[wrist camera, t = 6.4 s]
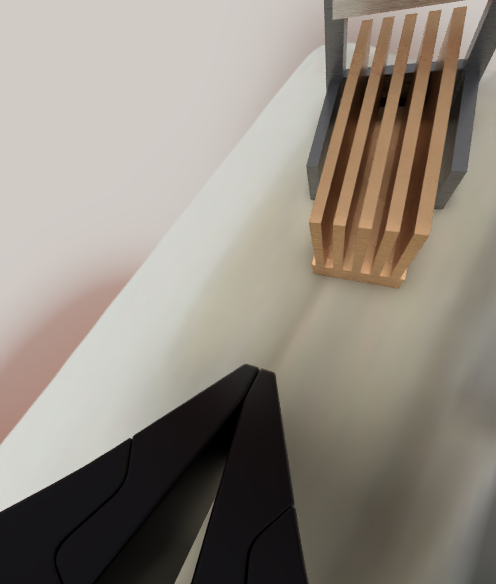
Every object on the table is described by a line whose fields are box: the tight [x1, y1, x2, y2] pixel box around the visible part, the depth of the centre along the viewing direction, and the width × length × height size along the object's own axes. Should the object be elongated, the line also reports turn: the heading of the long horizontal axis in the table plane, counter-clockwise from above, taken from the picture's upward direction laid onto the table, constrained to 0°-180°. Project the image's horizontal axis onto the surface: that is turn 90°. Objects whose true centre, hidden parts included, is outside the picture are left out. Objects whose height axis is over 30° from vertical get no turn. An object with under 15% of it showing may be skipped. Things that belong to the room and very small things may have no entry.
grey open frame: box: [306, 0, 496, 209], centre depth 18 cm, size 9×10×10 cm
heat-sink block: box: [309, 7, 467, 288], centre depth 18 cm, size 14×6×8 cm, turn 163°
